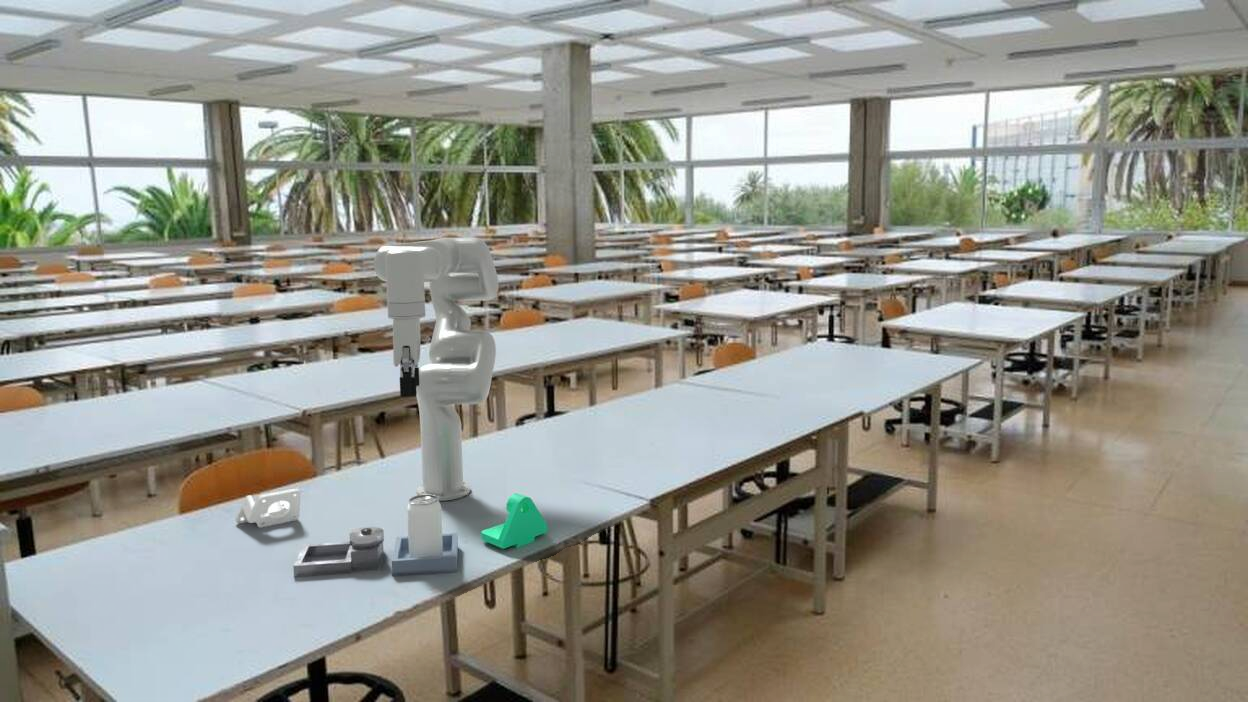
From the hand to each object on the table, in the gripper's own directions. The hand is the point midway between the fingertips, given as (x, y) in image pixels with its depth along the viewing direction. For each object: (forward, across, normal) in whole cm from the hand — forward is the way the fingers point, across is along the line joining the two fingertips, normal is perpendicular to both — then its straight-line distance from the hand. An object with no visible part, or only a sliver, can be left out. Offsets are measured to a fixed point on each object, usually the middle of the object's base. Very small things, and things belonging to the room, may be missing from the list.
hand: (410, 391), depth 184 cm
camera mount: (+31, +10, +20) cm, 38 cm away
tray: (+30, +18, +3) cm, 35 cm away
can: (+30, +18, +3) cm, 35 cm away
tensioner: (+30, +16, -13) cm, 37 cm away
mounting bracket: (+31, -8, -32) cm, 45 cm away
